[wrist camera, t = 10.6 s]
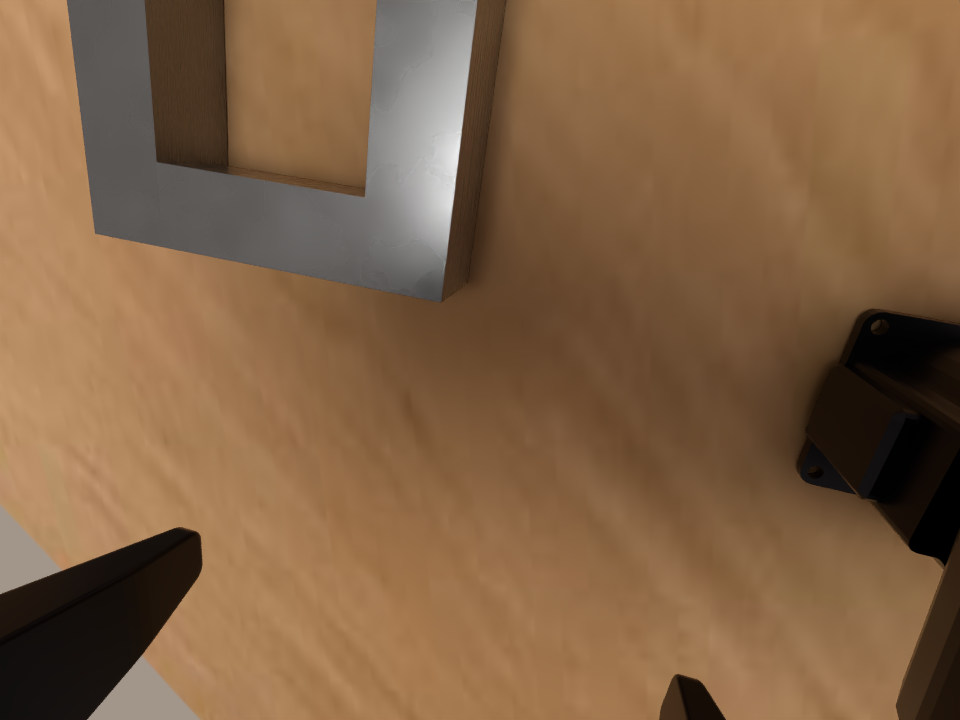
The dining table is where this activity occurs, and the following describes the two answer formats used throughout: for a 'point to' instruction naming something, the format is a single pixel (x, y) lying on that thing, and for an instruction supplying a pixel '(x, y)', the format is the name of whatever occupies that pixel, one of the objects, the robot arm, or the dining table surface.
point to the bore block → (278, 198)
